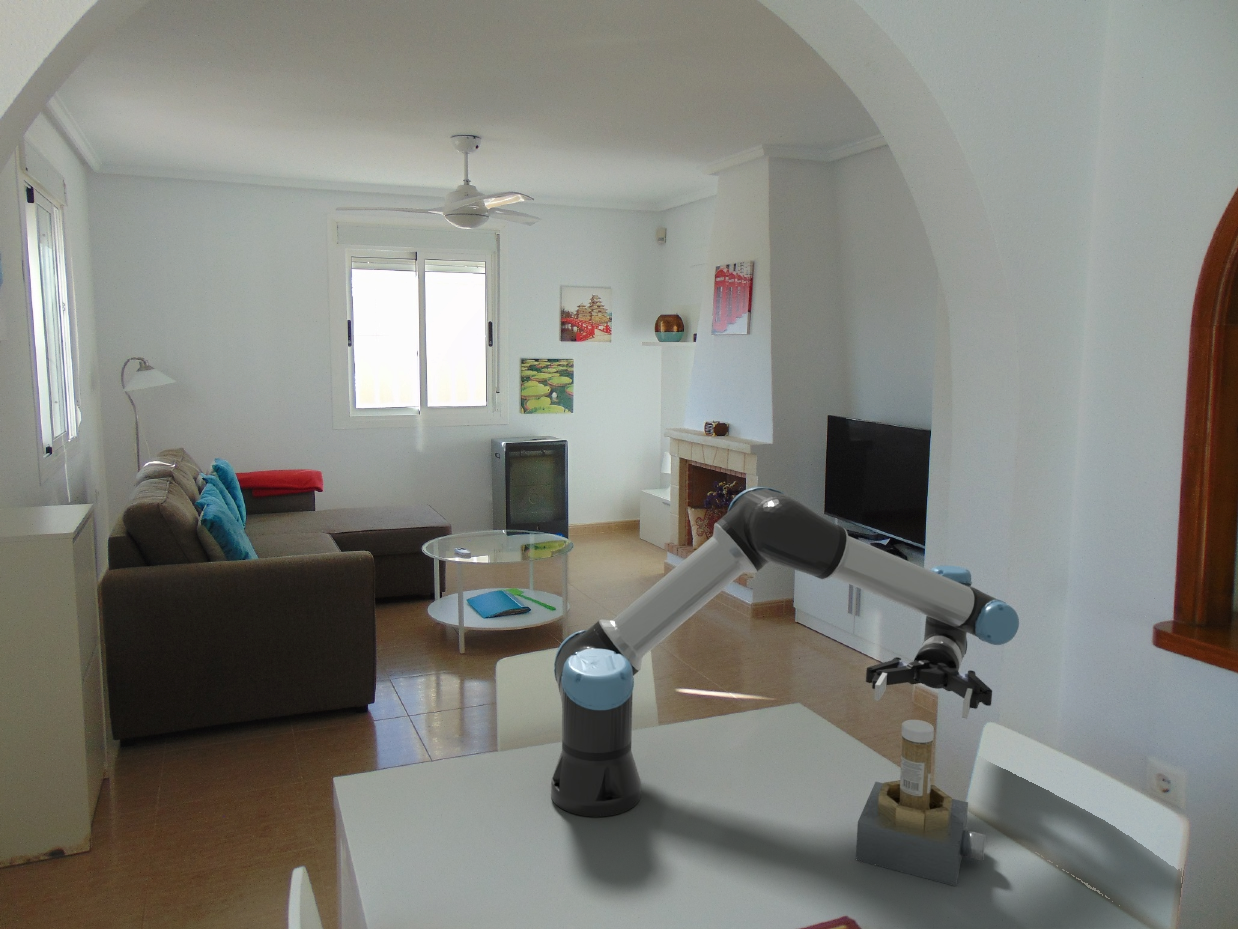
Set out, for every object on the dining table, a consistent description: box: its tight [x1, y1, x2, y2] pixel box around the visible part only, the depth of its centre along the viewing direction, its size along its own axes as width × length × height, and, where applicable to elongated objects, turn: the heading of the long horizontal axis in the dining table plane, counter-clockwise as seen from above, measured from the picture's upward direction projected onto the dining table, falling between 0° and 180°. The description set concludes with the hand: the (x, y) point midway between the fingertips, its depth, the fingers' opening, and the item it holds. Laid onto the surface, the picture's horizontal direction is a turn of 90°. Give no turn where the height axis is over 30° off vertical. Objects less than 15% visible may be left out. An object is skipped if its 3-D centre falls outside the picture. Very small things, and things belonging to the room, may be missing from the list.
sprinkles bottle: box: [899, 719, 935, 811], centre depth 133 cm, size 5×5×13 cm
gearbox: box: [855, 779, 987, 887], centre depth 133 cm, size 17×14×8 cm
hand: (920, 701), depth 143 cm, fingers open, 13 cm apart
